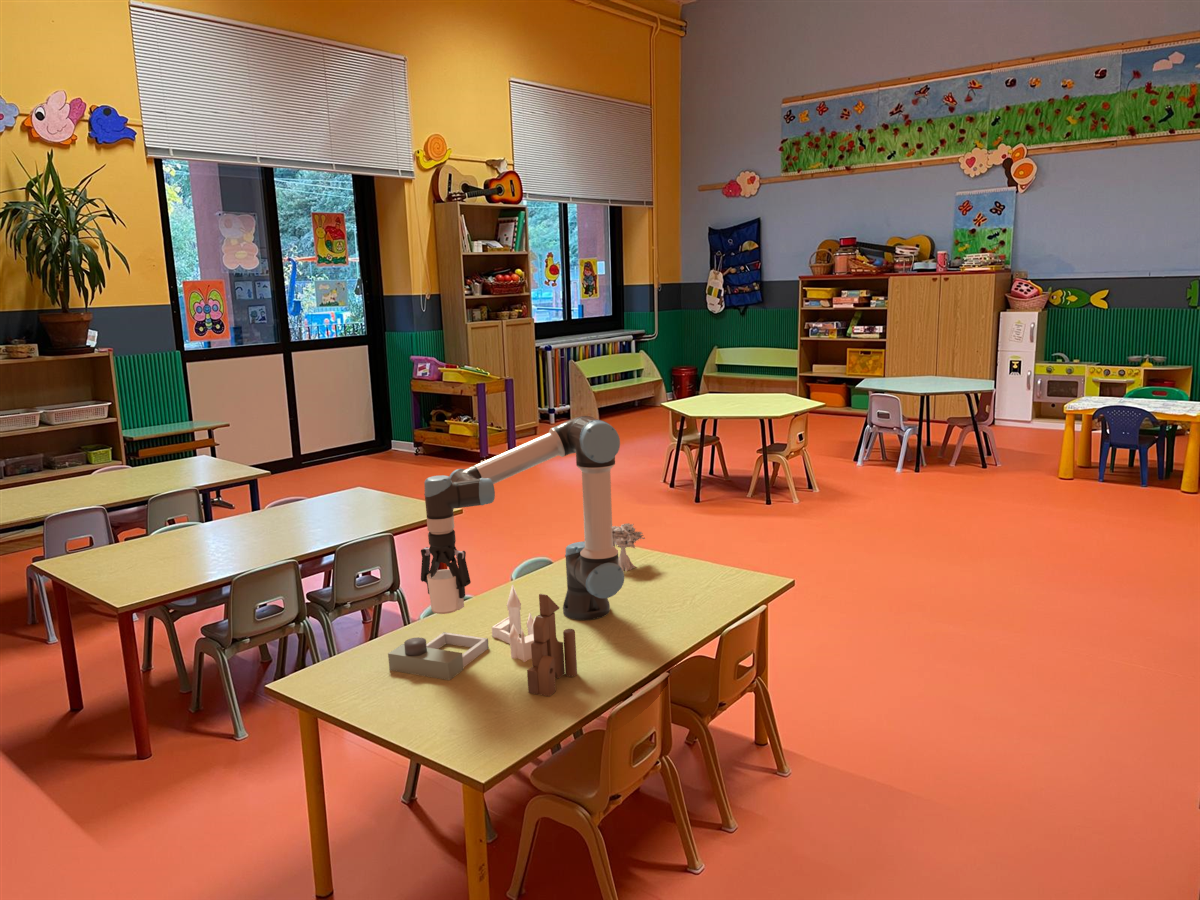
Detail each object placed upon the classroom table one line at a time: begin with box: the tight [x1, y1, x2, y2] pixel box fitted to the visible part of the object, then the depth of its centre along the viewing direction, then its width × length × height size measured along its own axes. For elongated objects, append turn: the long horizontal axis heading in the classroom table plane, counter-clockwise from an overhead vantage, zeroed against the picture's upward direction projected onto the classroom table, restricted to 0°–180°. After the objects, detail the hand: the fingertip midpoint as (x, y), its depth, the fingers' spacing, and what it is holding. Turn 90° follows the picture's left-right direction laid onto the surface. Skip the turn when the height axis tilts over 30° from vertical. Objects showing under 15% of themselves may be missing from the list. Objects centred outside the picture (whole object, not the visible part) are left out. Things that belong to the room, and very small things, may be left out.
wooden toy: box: [526, 593, 578, 697], centre depth 235 cm, size 16×7×25 cm, turn 152°
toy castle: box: [491, 583, 537, 663], centre depth 263 cm, size 14×25×16 cm, turn 41°
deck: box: [387, 631, 489, 681], centre depth 255 cm, size 20×22×8 cm
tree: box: [612, 522, 646, 572], centre depth 327 cm, size 18×16×17 cm
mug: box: [427, 568, 458, 615], centre depth 254 cm, size 11×9×10 cm
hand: (447, 606), depth 255 cm, fingers closed on mug, 8 cm apart
